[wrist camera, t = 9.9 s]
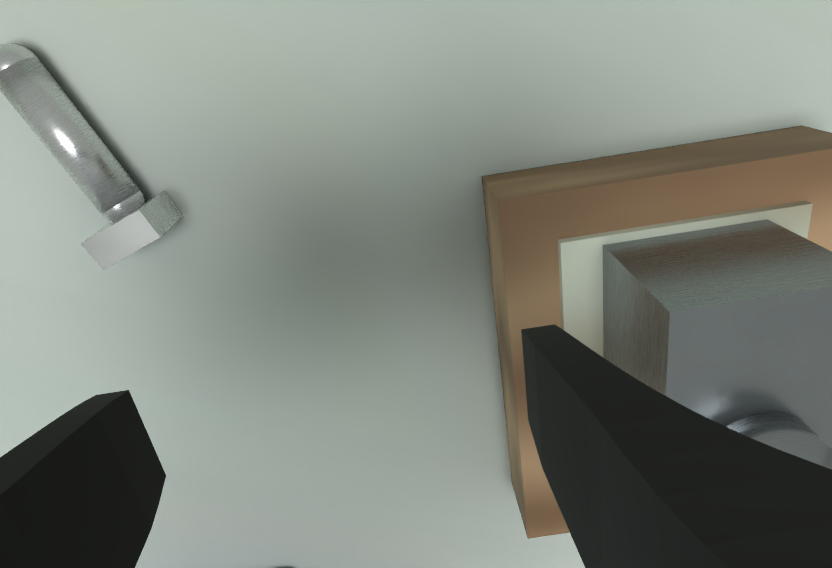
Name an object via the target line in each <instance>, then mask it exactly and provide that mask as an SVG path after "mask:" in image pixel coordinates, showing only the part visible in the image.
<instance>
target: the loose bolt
mask: <svg viewBox="0 0 832 568" xmlns="http://www.w3.org/2000/svg"><path fill="white" fill-rule="evenodd" d="M0 91H1V92H2V94H3V95H4V96H5V97H6V99H7V100H8V101H9V102H10V103H11V105H12V106H13V107H14V108H15V109H16V111H17V112H18V113H19V114H20V116H21V117H22V118H23V119H24V120H25V122H26V123H27V124H28V125H29V126H30V128H31V129H32V130H33V131H34V133H35V134H36V135H37V136H38V137H39V139H40V140H41V141H42V142H43V143H44V145H45V146H46V147H47V148H48V150H49V151H50V152H51V153H52V154H53V156H54V157H55V158H56V159H57V160H58V162H59V163H60V164H61V165H62V167H63V168H64V169H65V170H66V171H67V173H68V174H69V175H70V176H71V177H72V179H73V180H74V181H75V182H76V184H77V185H78V186H79V187H80V188H81V190H82V191H83V192H84V193H85V194H86V196H87V197H88V198H89V199H90V201H91V202H92V203H93V204H94V205H95V207H96V208H97V209H98V210H99V211H100V213H101V214H102V215H103V216H104V217H105V218H107V219H108V220H110V221H112V222H110V223H109V224H108V225H106V226H105V227H103V228H102V229H101V230H99V231H98V232H97V233H95V234H94V235H92V236H91V237H90V238H88V239H87V240H85V241H84V242H83V243H81V244H82V246H83V247H84V248H85V249H86V250H87V251H88V253H89V254H90V255H91V256H92V257H93V258H94V260H95V261H96V262H97V263H98V264H99V265H100V266H101V268H102V269H103V270H104V269H106V268H108V267H109V266H111V265H113V264H115V263H116V262H118V261H120V260H122V259H123V258H125V257H127V256H128V255H130V254H132V253H134V252H135V251H137V250H139V249H141V248H142V247H144V246H146V245H148V244H149V243H151V242H153V241H155V240H156V239H158V238H160V237H161V236H162V235H163V234H164V233H165V232H166V231H167V230H168V229H169V228H170V227H172V226H173V225H174V224H175V223H176V222H177V221H178V220H179V219H180V218H181V217H182V216H183V215H182V214H181V212H180V211H179V210H178V208H177V207H176V206H175V204H174V203H173V202H172V200H171V199H170V198H169V196H168V195H167V194H166V192H165V191H163V192H161V193H159V194H157V195H156V196H154V197H152V198H151V199H149V200H147V201H146V202H145V199H144V196H143V194H142V192H141V190H140V189H139V188H138V187H137V185H136V184H135V183H134V181H133V180H132V179H131V177H130V176H129V175H128V174H127V172H126V171H125V170H124V168H123V167H122V166H121V165H120V163H119V162H118V161H117V159H116V158H115V157H114V156H113V154H112V153H111V152H110V150H109V149H108V148H107V147H106V145H105V144H104V143H103V141H102V140H101V139H100V138H99V136H98V135H97V134H96V132H95V131H94V130H93V129H92V127H91V126H90V125H89V123H88V122H87V121H86V120H85V118H84V117H83V116H82V114H81V113H80V112H79V110H78V109H77V108H76V107H75V105H74V104H73V103H72V101H71V100H70V99H69V98H68V96H67V95H66V94H65V92H64V91H63V90H62V89H61V87H60V86H59V85H58V83H57V82H56V81H55V80H54V78H53V77H52V76H51V74H50V73H49V72H48V71H47V69H46V68H45V67H44V65H43V64H42V63H41V62H40V60H39V59H38V58H37V57H36V55H35V54H34V53H32V52H31V51H30V50H29V49H27V48H25V47H23V46H20V45H17V44H12V43H5V44H1V45H0Z"/></svg>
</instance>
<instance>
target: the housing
mask: <svg viewBox="0 0 832 568" xmlns="http://www.w3.org/2000/svg"><path fill="white" fill-rule="evenodd" d="M603 358H605V359H606V360H608V361H609V362H611V363H612V364H614V365H615V366H617V367H618V368H620V369H621V370H623V371H625V372H626V373H628V374H629V375H631V376H633V377H634V378H636V379H637V380H639V381H641V382H642V383H644V384H646V385H647V386H649V387H651V388H652V389H654V390H656V391H658V392H660V393H661V394H663V395H665V396H667V397H669V398H670V399H672V400H674V401H676V402H677V403H679V404H681V405H683V406H685V407H687V408H689V409H691V410H692V411H694V412H696V413H698V414H700V415H702V416H704V417H706V418H709V419H711V420H713V421H715V422H717V423H719V424H721V425H724V426H726V427H728V428H730V429H732V430H734V431H737V432H739V433H741V434H743V435H745V436H747V437H750V438H752V439H754V440H757V441H759V442H762V443H764V444H766V445H769V446H771V447H774V448H776V449H779V450H781V451H784V452H787V453H789V454H792V455H795V456H797V457H800V458H802V459H805V460H808V461H810V462H813V463H816V464H818V465H821V466H824V467H826V468H829V469H832V251H830V250H828V249H826V248H824V247H822V246H820V245H818V244H816V243H814V242H812V241H810V240H808V239H806V238H804V237H802V236H800V235H798V234H796V233H794V232H792V231H790V230H788V229H786V228H784V227H782V226H780V225H778V224H776V223H774V222H772V221H770V220H768V219H766V220H759V221H753V222H747V223H740V224H734V225H727V226H721V227H715V228H708V229H702V230H695V231H689V232H683V233H676V234H670V235H663V236H657V237H650V238H644V239H638V240H631V241H625V242H618V243H612V244H606V245H603Z"/></svg>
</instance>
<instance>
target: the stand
mask: <svg viewBox="0 0 832 568" xmlns="http://www.w3.org/2000/svg"><path fill="white" fill-rule="evenodd" d="M482 181H483V191H484V202H485V212H486V222H487V232H488V242H489V253H490V263H491V273H492V283H493V293H494V304H495V314H496V324H497V334H498V344H499V355H500V365H501V375H502V385H503V396H504V406H505V416H506V426H507V436H508V447H509V457H510V467H511V477H512V485H513V488H514V492H515V495H516V499H517V502H518V506H519V509H520V513H521V516H522V520H523V523H524V527H525V530H526V534H527V537H528V538H535V537H541V536H548V535H555V534H561V533H568V532H570V531H569V529H568V527H567V524H566V522H565V520H564V517H563V515H562V513H561V511H560V508H559V506H558V504H557V501H556V499H555V497H554V494H553V492H552V490H551V487H550V485H549V483H548V480H547V478H546V476H545V473H544V471H543V469H542V465H541V462H540V459H539V455H538V452H537V449H536V446H535V442H534V439H533V435H532V432H531V428H530V425H529V421H528V411H527V398H526V385H525V372H524V359H523V346H522V334H521V329H527V328H534V327H540V326H547V325H553V324H555V325H557V326H558V327H560V328H561V329H563V330H564V331H566V332H567V333H569V334H570V335H571V336H573V337H574V338H576V339H577V340H579V341H580V342H581V343H583V344H584V345H586V346H587V347H589V348H590V349H591V350H593V351H594V352H596V353H597V354H599V355H600V356H602V357H603V245H606V244H612V243H618V242H625V241H631V240H638V239H644V238H650V237H657V236H663V235H670V234H676V233H683V232H689V231H695V230H702V229H708V228H715V227H721V226H727V225H734V224H740V223H747V222H753V221H759V220H766V219H768V220H770V221H772V222H774V223H776V224H778V225H780V226H782V227H784V228H786V229H788V230H790V231H792V232H794V233H796V234H798V235H800V236H802V237H804V238H806V239H808V240H810V241H812V242H814V243H816V244H818V245H820V246H822V247H824V248H826V249H828V250H830V251H832V133H830V132H825V131H821V130H817V129H813V128H809V127H805V126H798V127H792V128H786V129H779V130H773V131H767V132H760V133H754V134H748V135H741V136H735V137H729V138H722V139H716V140H710V141H703V142H697V143H691V144H684V145H678V146H672V147H665V148H659V149H653V150H646V151H640V152H634V153H627V154H621V155H615V156H608V157H602V158H595V159H589V160H583V161H576V162H570V163H564V164H557V165H551V166H545V167H538V168H532V169H526V170H519V171H513V172H507V173H500V174H494V175H488V176H482Z"/></svg>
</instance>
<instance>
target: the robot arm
mask: <svg viewBox="0 0 832 568" xmlns="http://www.w3.org/2000/svg"><path fill="white" fill-rule="evenodd" d="M521 334H522V346H523V359H524V372H525V385H526V398H527V411H528V421H529V425H530V428H531V432H532V435H533V439H534V442H535V446H536V449H537V452H538V455H539V459H540V462H541V465H542V469H543V471H544V473H545V476H546V478H547V480H548V483H549V485H550V487H551V490H552V492H553V494H554V497H555V499H556V501H557V504H558V506H559V508H560V511H561V513H562V515H563V517H564V520H565V522H566V524H567V527H568V529H569V531H570V533H571V536H572V538H573V540H574V543H575V545H576V547H577V549H578V552H579V554H580V556H581V559H582V561H583V563H584V565H585V568H832V469H829V468H826V467H824V466H821V465H818V464H816V463H813V462H810V461H808V460H805V459H802V458H800V457H797V456H795V455H792V454H789V453H787V452H784V451H781V450H779V449H776V448H774V447H771V446H769V445H766V444H764V443H762V442H759V441H757V440H754V439H752V438H750V437H747V436H745V435H743V434H741V433H739V432H737V431H734V430H732V429H730V428H728V427H726V426H724V425H721V424H719V423H717V422H715V421H713V420H711V419H709V418H706V417H704V416H702V415H700V414H698V413H696V412H694V411H692V410H691V409H689V408H687V407H685V406H683V405H681V404H679V403H677V402H676V401H674V400H672V399H670V398H669V397H667V396H665V395H663V394H661V393H660V392H658V391H656V390H654V389H652V388H651V387H649V386H647V385H646V384H644V383H642V382H641V381H639V380H637V379H636V378H634V377H633V376H631V375H629V374H628V373H626V372H625V371H623V370H621V369H620V368H618V367H617V366H615V365H614V364H612V363H611V362H609V361H608V360H606V359H605V358H603V357H602V356H600V355H599V354H597V353H596V352H594V351H593V350H591V349H590V348H589V347H587V346H586V345H584V344H583V343H581V342H580V341H579V340H577V339H576V338H574V337H573V336H571V335H570V334H569V333H567V332H566V331H564V330H563V329H561V328H560V327H558V326H557V325H555V324H553V325H547V326H540V327H534V328H527V329H521ZM165 478H166V475H165V472H164V470H163V468H162V465H161V463H160V461H159V459H158V456H157V454H156V452H155V449H154V447H153V445H152V442H151V440H150V438H149V436H148V433H147V431H146V429H145V426H144V424H143V422H142V420H141V417H140V415H139V413H138V410H137V408H136V406H135V403H134V401H133V399H132V397H131V394H130V392H129V390H126V391H120V392H113V393H107V394H101V395H95V396H94V397H92V398H90V399H88V400H86V401H84V402H83V403H81V404H79V405H78V406H76V407H74V408H73V409H71V410H70V411H68V412H66V413H65V414H63V415H62V416H60V417H59V418H57V419H56V420H54V421H53V422H51V423H50V424H48V425H47V426H45V427H44V428H42V429H41V430H40V431H38V432H37V433H35V434H34V435H32V436H31V437H29V438H28V439H26V440H25V441H24V442H22V443H21V444H19V445H18V446H16V447H15V448H13V449H12V450H11V451H9V452H8V453H6V454H5V455H3V456H2V457H0V568H135V566H136V563H137V561H138V559H139V556H140V554H141V552H142V549H143V547H144V545H145V542H146V540H147V538H148V535H149V533H150V530H151V528H152V525H153V521H154V518H155V515H156V511H157V508H158V505H159V501H160V497H161V493H162V489H163V485H164V481H165Z"/></svg>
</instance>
